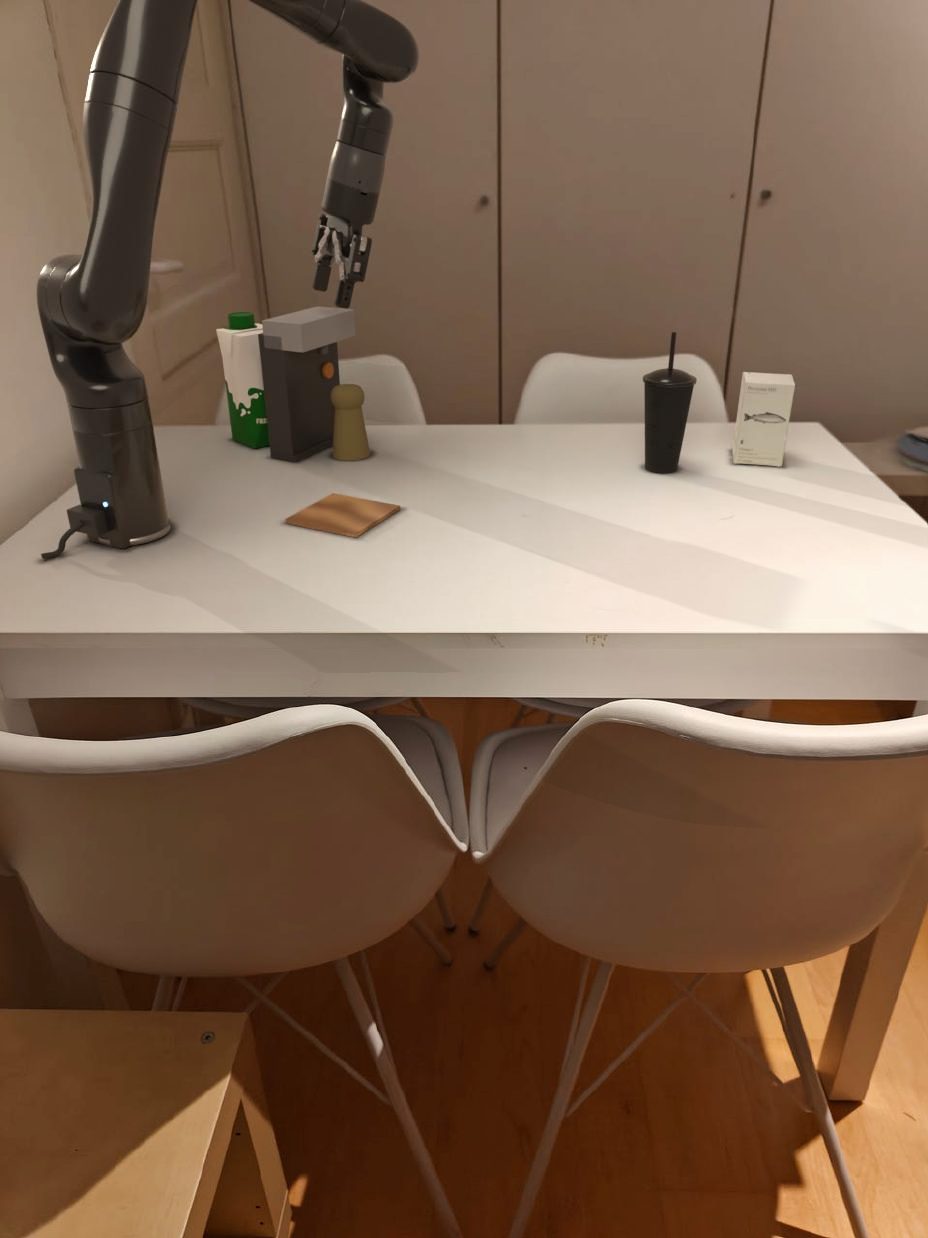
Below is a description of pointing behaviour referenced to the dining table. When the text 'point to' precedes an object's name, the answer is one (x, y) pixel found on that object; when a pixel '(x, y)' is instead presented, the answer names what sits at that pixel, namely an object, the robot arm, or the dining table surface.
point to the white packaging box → (763, 418)
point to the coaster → (343, 515)
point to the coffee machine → (302, 378)
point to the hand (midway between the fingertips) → (330, 298)
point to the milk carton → (244, 379)
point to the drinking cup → (666, 414)
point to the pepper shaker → (349, 423)
